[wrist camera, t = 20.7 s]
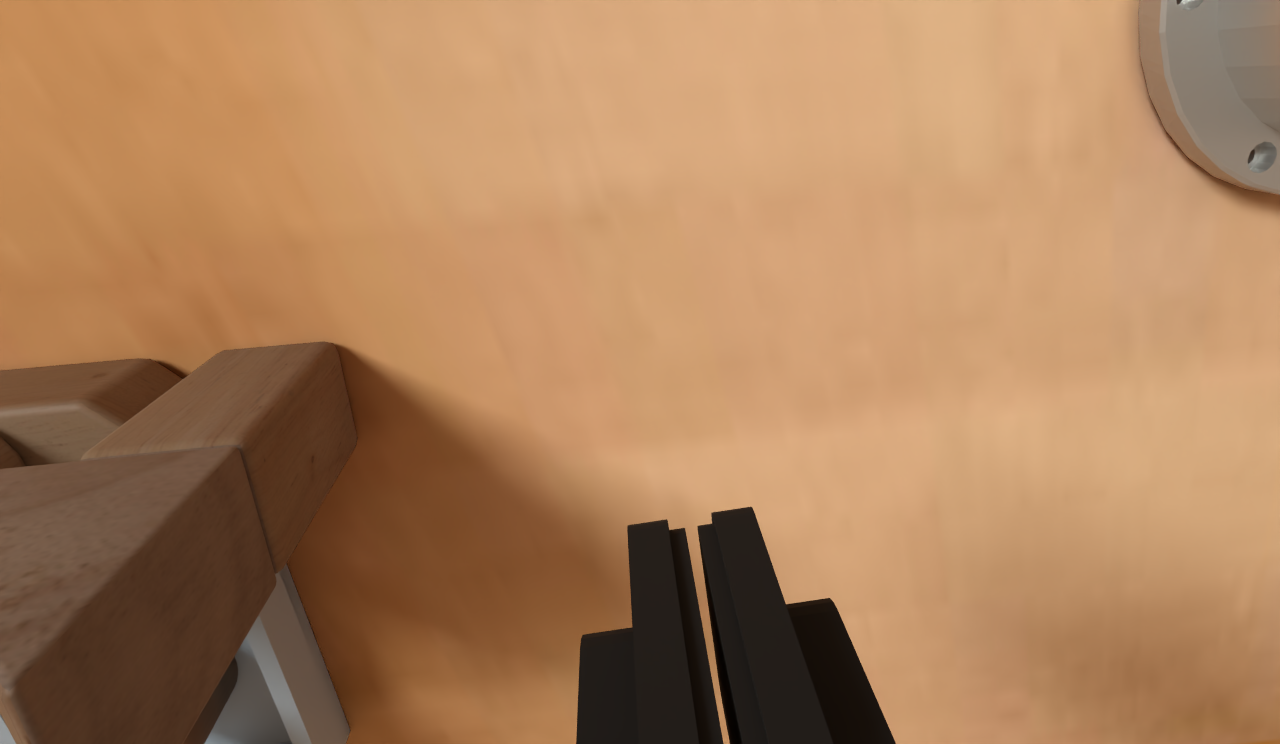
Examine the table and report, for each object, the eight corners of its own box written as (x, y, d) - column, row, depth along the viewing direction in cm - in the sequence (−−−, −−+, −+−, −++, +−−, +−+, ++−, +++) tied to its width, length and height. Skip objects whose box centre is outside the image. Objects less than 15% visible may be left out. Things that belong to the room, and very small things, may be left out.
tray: (269, 519, 24) (237, 564, 22) (350, 730, 28) (330, 789, 25) (-17, 569, 24) (-81, 621, 22) (99, 777, 27) (55, 841, 25)
